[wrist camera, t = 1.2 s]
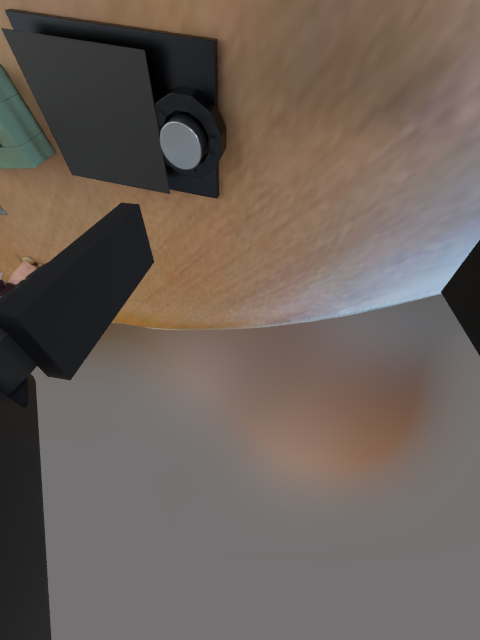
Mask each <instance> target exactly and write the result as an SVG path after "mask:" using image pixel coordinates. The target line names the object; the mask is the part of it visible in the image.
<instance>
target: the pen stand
mask: <svg viewBox="0 0 480 640" xmlns="http://www.w3.org/2000/svg"><path fill="white" fill-rule="evenodd" d="M54 153H56V152H55V150H54V149H53V147H52V145H51V144H50V142H49V141H48V139H47V138H46V136H45V134H44V133H43V132H42V130H41V128H40V126H39V125H38V123H37V122H36V120H35V118H34V117H33V115H32V114H31V112H30V111H29V109H28V107H27V106H26V104H25V103H24V101H23V99H22V98H21V96H20V95H19V94H18V91H17V90H16V88H15V87H14V85H13V84H12V82H11V80H10V79H9V77H8V76H7V74H6V72H5V71H4V69H3V68H2V66H1V65H0V169H3V168H36V167H37V166H38V165H40V164H41V163H42V162H44V161H45V160H46V159H48V158H49V157H50V156H52V155H53V154H54Z"/></svg>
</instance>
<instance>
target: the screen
mask: <svg viewBox="0 0 480 640" xmlns="http://www.w3.org/2000/svg"><path fill="white" fill-rule="evenodd" d="M2 31H3V33H4V35H5V37H6V39H7V41H8V43H9V45H10V47H11V49H12V52H13V54H14V56H15V58H16V60H17V62H18V64H19V66H20V68H21V70H22V72H23V74H24V76H25V78H26V81H27V83H28V85H29V87H30V89H31V91H32V93H33V95H34V97H35V99H36V101H37V103H38V105H39V107H40V109H41V112H42V114H43V116H44V118H45V120H46V122H47V124H48V126H49V128H50V130H51V132H52V134H53V136H54V138H55V140H56V143H57V145H58V147H59V149H60V151H61V153H62V155H63V157H64V159H65V161H66V163H67V165H68V167H69V169H70V172H71V174H72V175H76V176H81V177H86V178H91V179H96V180H101V181H106V182H111V183H117V184H122V185H127V186H132V187H137V188H142V189H147V190H152V191H157V192H163V193H168V194H170V190H169V184H168V178H167V173H166V167H165V161H164V156H163V151H162V148H161V145H160V133H159V128H158V122H157V116H156V111H155V105H154V99H153V94H152V88H151V83H150V77H149V71H148V66H147V60H146V54H145V50H141V49H134V48H128V47H121V46H115V45H108V44H102V43H95V42H89V41H82V40H75V39H69V38H62V37H56V36H49V35H43V34H36V33H30V32H23V31H16V30H10V29H3V28H2Z"/></svg>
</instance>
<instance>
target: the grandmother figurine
mask: <svg viewBox="0 0 480 640" xmlns="http://www.w3.org/2000/svg"><path fill="white" fill-rule="evenodd" d="M22 261H23V262H22V263H21V264H20V265H19V266H18V268H17V269H16V270H15V271H14V272H13V274H12V275H11V276H10V278H9V279H8V282H7V284H6V285H4V283H3V275H4V273H3V272H2V271H0V296H3V295H4V294H5V293H7V292H8V291H9V290H10V289H12V288H15V285H17V284H18V283H19V282H20V281H22V280H25V277H27V276H28V275H29V274H30V273H32V272H33V271H34V270H35V269H37V268H38V267H40V266H42V265H41V264H38V265H36V267H35V266H32V265H33V264H34V263H35V261H34V260H33V259H32V258H30V257H23V258H22Z"/></svg>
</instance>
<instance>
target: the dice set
mask: <svg viewBox="0 0 480 640" xmlns="http://www.w3.org/2000/svg"><path fill="white" fill-rule="evenodd" d="M0 215H8V214H7V213H6V212H5V211H4V210H3V209H2V208H1V207H0Z"/></svg>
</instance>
